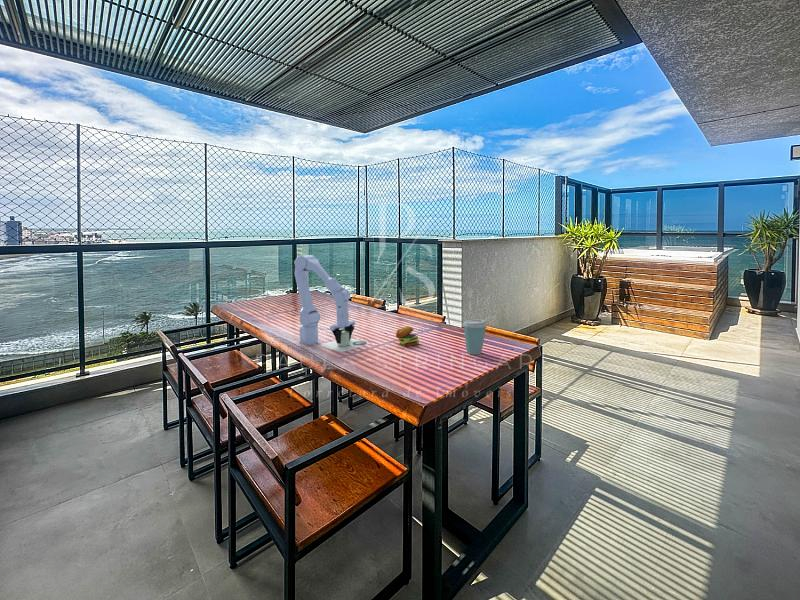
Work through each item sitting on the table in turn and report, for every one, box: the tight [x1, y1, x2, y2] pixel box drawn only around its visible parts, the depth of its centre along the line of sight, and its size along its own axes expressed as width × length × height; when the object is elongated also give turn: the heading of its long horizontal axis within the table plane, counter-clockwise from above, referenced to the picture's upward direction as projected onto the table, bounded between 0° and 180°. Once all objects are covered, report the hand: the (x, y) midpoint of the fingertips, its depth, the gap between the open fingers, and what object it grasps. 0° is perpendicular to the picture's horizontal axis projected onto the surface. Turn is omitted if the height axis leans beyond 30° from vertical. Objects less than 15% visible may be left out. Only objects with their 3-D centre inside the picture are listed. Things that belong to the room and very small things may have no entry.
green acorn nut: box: [338, 331, 350, 346], centre depth 184 cm, size 6×6×6 cm
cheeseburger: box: [395, 325, 420, 347], centre depth 186 cm, size 10×11×10 cm
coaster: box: [353, 340, 368, 346], centre depth 187 cm, size 7×7×1 cm
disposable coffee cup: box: [462, 319, 487, 356], centre depth 170 cm, size 11×11×15 cm
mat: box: [317, 337, 371, 353], centre depth 186 cm, size 18×19×1 cm
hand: (343, 341), depth 184 cm, fingers closed on green acorn nut, 6 cm apart
